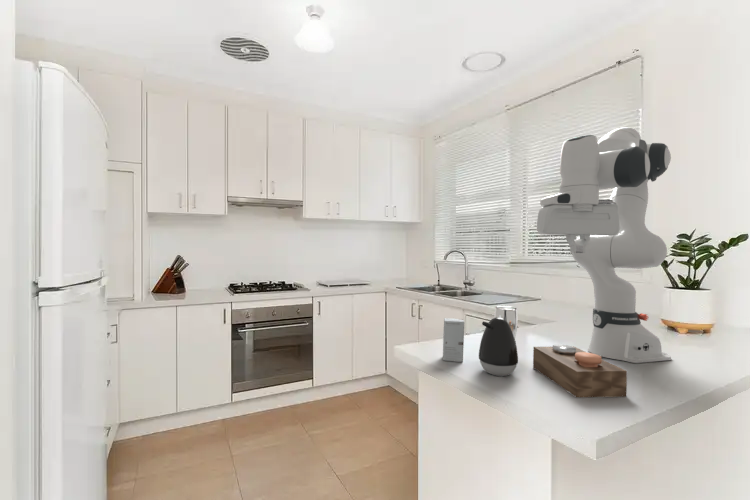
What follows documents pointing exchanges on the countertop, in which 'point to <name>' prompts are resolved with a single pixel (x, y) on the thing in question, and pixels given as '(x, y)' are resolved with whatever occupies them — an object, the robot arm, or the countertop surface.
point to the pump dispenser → (498, 348)
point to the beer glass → (508, 316)
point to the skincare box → (453, 339)
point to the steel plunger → (564, 349)
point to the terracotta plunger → (588, 359)
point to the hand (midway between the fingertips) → (577, 252)
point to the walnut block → (580, 374)
